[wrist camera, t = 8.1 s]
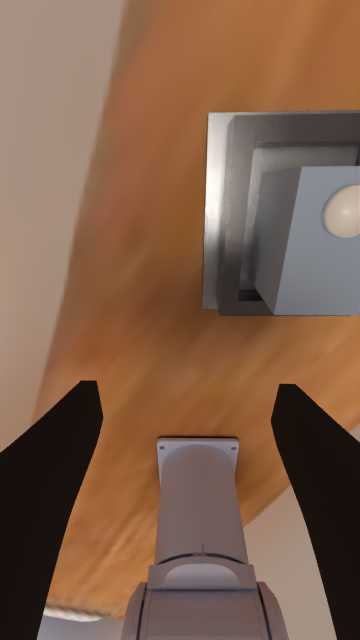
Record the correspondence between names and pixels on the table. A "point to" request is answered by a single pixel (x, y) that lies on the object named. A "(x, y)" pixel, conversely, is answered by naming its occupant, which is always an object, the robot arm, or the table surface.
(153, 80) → the table surface
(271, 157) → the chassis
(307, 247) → the block
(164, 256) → the table surface
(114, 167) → the table surface
